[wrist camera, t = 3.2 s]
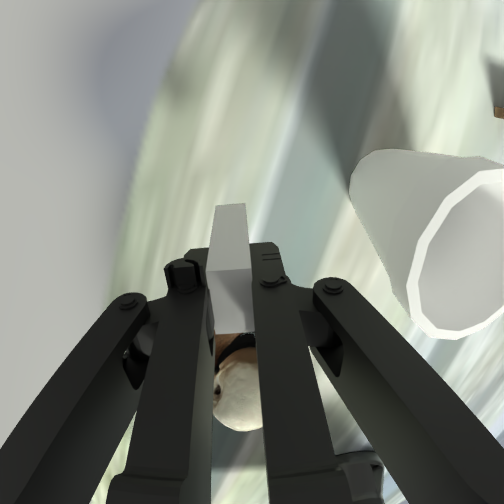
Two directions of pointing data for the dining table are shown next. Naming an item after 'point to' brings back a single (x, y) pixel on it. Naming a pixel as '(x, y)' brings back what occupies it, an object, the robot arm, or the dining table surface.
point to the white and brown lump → (236, 382)
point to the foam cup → (436, 235)
